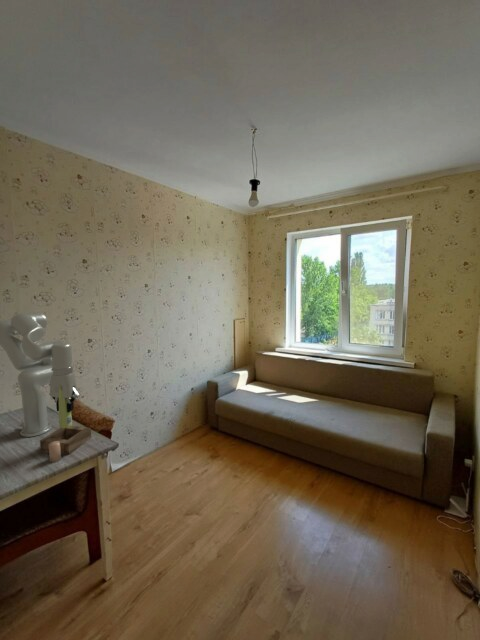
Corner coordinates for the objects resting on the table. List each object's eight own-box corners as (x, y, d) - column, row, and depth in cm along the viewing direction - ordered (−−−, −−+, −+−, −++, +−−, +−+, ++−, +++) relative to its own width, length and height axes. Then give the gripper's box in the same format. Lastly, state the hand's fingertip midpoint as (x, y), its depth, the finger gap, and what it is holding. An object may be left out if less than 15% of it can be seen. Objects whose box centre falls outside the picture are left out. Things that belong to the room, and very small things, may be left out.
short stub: (47, 461, 117) (45, 445, 117) (55, 456, 121) (53, 440, 121) (56, 462, 117) (54, 446, 116) (63, 456, 121) (62, 441, 120)
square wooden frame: (40, 451, 125) (40, 440, 124) (65, 435, 139) (64, 425, 138) (69, 454, 123) (68, 443, 122) (91, 437, 136) (90, 427, 136)
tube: (57, 425, 129) (54, 384, 127) (69, 421, 133) (67, 381, 131) (61, 429, 126) (59, 386, 124) (74, 425, 130) (71, 384, 127)
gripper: (38, 372, 124) (41, 412, 126) (73, 374, 122) (76, 415, 124) (52, 367, 132) (55, 405, 134) (85, 369, 129) (87, 408, 131)
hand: (65, 410), depth 129 cm, fingers closed on tube, 4 cm apart
